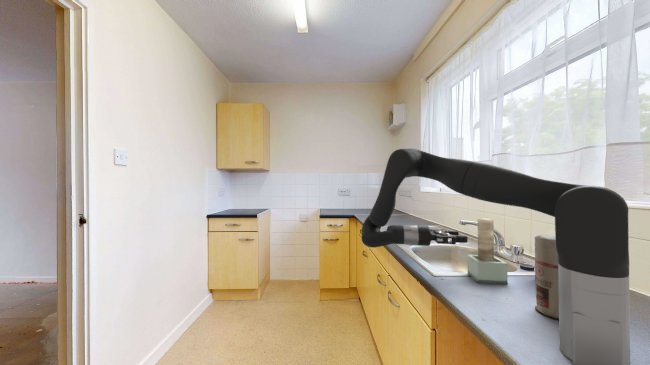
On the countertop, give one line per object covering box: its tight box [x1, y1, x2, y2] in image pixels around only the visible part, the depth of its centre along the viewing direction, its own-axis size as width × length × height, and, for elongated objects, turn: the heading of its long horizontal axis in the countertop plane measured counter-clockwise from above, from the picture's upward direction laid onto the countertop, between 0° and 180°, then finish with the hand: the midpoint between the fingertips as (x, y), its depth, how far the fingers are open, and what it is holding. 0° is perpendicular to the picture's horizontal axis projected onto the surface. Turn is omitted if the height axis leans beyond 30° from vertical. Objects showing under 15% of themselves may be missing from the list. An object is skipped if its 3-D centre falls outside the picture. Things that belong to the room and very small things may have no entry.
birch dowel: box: [477, 218, 495, 262], centre depth 88 cm, size 5×5×20 cm
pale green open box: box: [467, 254, 509, 285], centre depth 88 cm, size 9×9×7 cm
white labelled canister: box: [534, 234, 559, 320], centre depth 64 cm, size 8×8×20 cm
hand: (462, 236), depth 89 cm, fingers open, 8 cm apart
